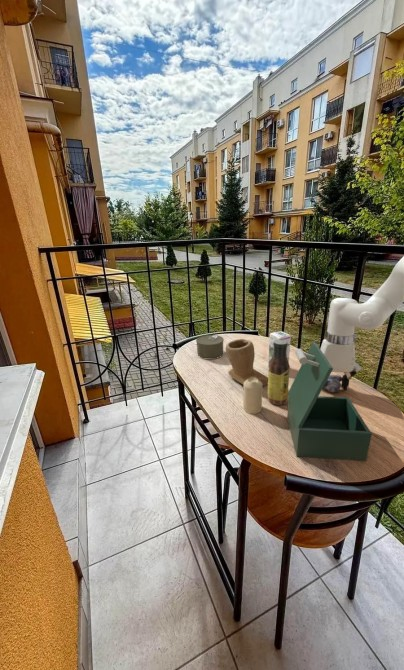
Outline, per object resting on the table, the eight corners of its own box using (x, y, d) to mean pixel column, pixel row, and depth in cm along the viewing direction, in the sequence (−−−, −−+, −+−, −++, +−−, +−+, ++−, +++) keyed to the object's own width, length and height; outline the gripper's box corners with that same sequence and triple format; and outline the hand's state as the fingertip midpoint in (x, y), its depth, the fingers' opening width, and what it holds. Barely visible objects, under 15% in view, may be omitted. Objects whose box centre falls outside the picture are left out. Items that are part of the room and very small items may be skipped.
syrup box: (289, 369, 108) (291, 334, 103) (277, 373, 106) (279, 337, 101) (279, 364, 113) (281, 330, 108) (267, 367, 110) (269, 333, 105)
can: (191, 355, 124) (190, 341, 121) (206, 346, 133) (206, 333, 131) (214, 361, 117) (214, 346, 115) (228, 351, 126) (228, 337, 124)
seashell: (330, 384, 99) (330, 400, 91) (321, 372, 99) (320, 387, 90) (345, 378, 96) (346, 394, 88) (336, 366, 96) (336, 380, 87)
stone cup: (220, 375, 106) (219, 338, 100) (246, 368, 111) (246, 332, 105) (243, 394, 93) (243, 353, 88) (271, 385, 98) (273, 345, 93)
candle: (259, 415, 82) (261, 385, 79) (241, 411, 84) (241, 382, 81) (262, 404, 87) (264, 376, 84) (245, 401, 89) (245, 374, 86)
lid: (315, 342, 71) (295, 335, 72) (333, 368, 58) (308, 360, 58) (290, 394, 78) (271, 388, 78) (300, 428, 64) (278, 421, 64)
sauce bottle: (286, 407, 85) (291, 347, 78) (265, 404, 87) (268, 345, 80) (287, 396, 91) (292, 339, 84) (268, 393, 93) (271, 337, 86)
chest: (344, 421, 78) (348, 397, 76) (366, 461, 65) (371, 433, 62) (287, 418, 80) (288, 395, 78) (296, 456, 67) (299, 429, 64)
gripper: (364, 333, 90) (355, 382, 96) (308, 333, 92) (303, 381, 99) (374, 342, 83) (364, 394, 89) (313, 342, 85) (308, 392, 92)
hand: (332, 387), depth 94 cm, fingers closed on seashell, 6 cm apart
